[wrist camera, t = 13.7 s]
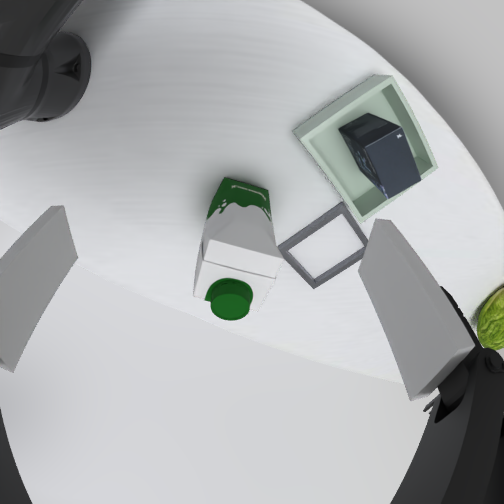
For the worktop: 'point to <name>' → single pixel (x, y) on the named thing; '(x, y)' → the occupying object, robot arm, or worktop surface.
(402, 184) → the box
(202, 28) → the worktop surface
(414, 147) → the bin
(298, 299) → the worktop surface
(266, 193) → the milk carton
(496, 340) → the lettuce
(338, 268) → the collar
